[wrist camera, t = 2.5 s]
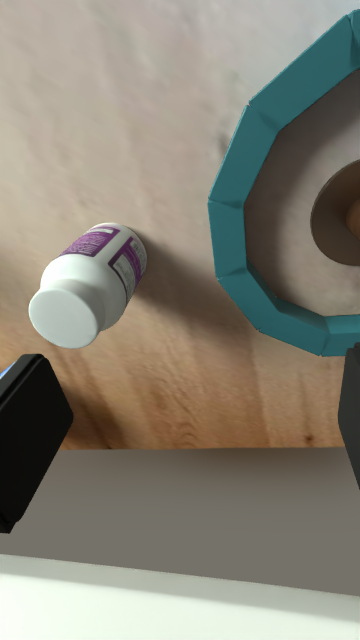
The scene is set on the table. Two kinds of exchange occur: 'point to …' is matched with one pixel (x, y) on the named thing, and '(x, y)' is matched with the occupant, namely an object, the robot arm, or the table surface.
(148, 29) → the table surface
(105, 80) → the table surface
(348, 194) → the peg stand
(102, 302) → the pill bottle
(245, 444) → the table surface
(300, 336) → the ring
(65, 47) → the table surface
